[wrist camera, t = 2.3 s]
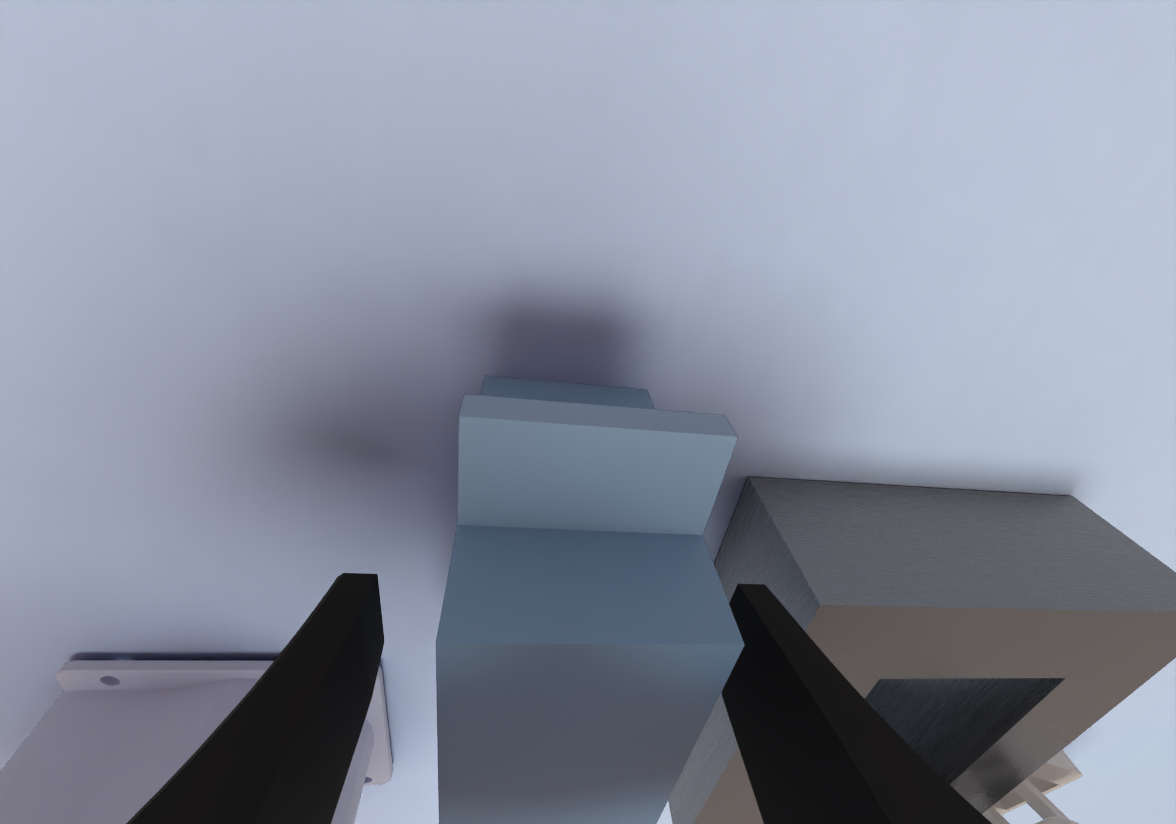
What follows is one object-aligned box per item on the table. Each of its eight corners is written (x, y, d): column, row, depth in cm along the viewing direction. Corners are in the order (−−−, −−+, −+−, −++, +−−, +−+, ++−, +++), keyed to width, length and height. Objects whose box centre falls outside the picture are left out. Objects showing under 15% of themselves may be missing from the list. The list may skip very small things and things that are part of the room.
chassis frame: (653, 720, 21) (677, 850, 17) (748, 476, 14) (820, 605, 11) (889, 716, 23) (956, 834, 19) (1073, 496, 16) (1230, 613, 12)
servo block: (475, 596, 16) (440, 884, 10) (488, 294, 11) (434, 521, 5) (598, 599, 17) (632, 872, 11) (664, 313, 12) (797, 537, 6)
